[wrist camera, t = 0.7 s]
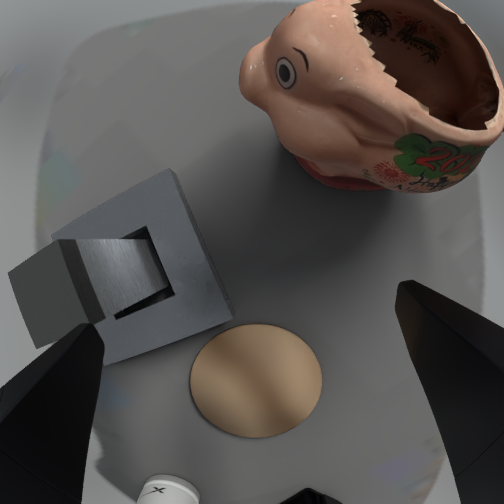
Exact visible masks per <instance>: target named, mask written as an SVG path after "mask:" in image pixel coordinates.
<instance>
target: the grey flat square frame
mask: <svg viewBox="0 0 504 504" xmlns="http://www.w3.org/2000/svg"><path fill="white" fill-rule="evenodd" d="M146 230H148V231H149V233H150V236H151V238H152V241H153V243H154V246H155V248H156V251H157V253H158V255H159V258H160V260H161V263H162V265H163V267H164V270H165V272H166V274H167V277H168V279H169V281H170V284H171V286H172V288H173V290H174V293H175V294H174V295H171V296H169V297H166V298H164V299H162V300H159V301H157V302H155V303H152V304H150V305H148V306H145V307H143V308H140V309H138V310H136V311H133V312H131V313H128V314H125V312H124V310H121V311H119V312H117V313H115V314H114V315H112V316H110V317H108V318H106V319H104V320H102V321H100V322H98V323H96V324H95V325H94V326H95V328H96V329H97V331H98V333H99V335H100V336H101V338H102V340H103V342H104V345H105V352H104V358H103V364H104V366H106V365H109V364H112V363H115V362H118V361H121V360H124V359H127V358H130V357H133V356H136V355H139V354H141V353H144V352H147V351H150V350H153V349H156V348H158V347H161V346H164V345H167V344H169V343H172V342H175V341H177V340H180V339H183V338H185V337H188V336H191V335H193V334H196V333H199V332H201V331H204V330H206V329H209V328H211V327H214V326H217V325H219V324H222V323H224V322H227V321H229V320H232V319H233V317H234V314H235V312H234V309H233V307H232V305H231V303H230V301H229V298H228V296H227V294H226V292H225V289H224V287H223V285H222V283H221V280H220V278H219V276H218V274H217V271H216V269H215V267H214V264H213V262H212V260H211V258H210V255H209V253H208V251H207V248H206V246H205V244H204V241H203V239H202V236H201V234H200V232H199V229H198V227H197V225H196V222H195V220H194V217H193V215H192V213H191V210H190V208H189V205H188V203H187V200H186V198H185V195H184V193H183V191H182V188H181V186H180V183H179V181H178V178H177V176H176V174H175V173H174V172H173V171H172V170H171V169H166V170H164V171H162V172H160V173H158V174H156V175H154V176H152V177H151V178H149V179H147V180H145V181H143V182H141V183H139V184H137V185H135V186H133V187H131V188H130V189H128V190H126V191H124V192H122V193H120V194H119V195H117V196H115V197H113V198H111V199H110V200H108V201H106V202H104V203H103V204H101V205H99V206H97V207H96V208H94V209H92V210H91V211H89V212H87V213H86V214H84V215H82V216H81V217H79V218H77V219H76V220H74V221H72V222H71V223H69V224H68V225H66V226H64V227H63V228H61V229H60V230H58V231H57V232H55V233H54V234H52V235H51V237H52V240H53V242H54V241H56V240H57V239H130V238H132V237H134V236H136V235H138V234H140V233H142V232H144V231H146Z"/></svg>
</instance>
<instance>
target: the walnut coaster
mask: <svg viewBox="0 0 504 504" xmlns="http://www.w3.org/2000/svg"><path fill="white" fill-rule="evenodd" d="M190 383H191V391H192V396H193V398H194V401H195V403H196V405H197V407H198V409H199V410H200V411H201V413H202V414H203V415H204V416H205V417H206V418H207V419H208V420H209V421H210V422H211V423H212V424H214V425H215V426H217V427H218V428H220V429H222V430H224V431H226V432H228V433H231V434H234V435H238V436H242V437H249V438H262V437H270V436H275V435H278V434H281V433H284V432H286V431H288V430H290V429H292V428H294V427H296V426H297V425H298V424H300V423H301V422H302V421H303V420H304V419H306V418H307V417H308V415H309V414H310V413H311V412H312V411H313V409H314V407H315V406H316V404H317V402H318V399H319V397H320V393H321V389H322V373H321V368H320V365H319V363H318V360H317V358H316V356H315V355H314V353H313V351H312V350H311V348H310V347H309V346H308V345H307V344H306V343H305V342H304V341H303V340H302V339H301V338H299V337H298V336H297V335H295V334H294V333H292V332H290V331H288V330H286V329H283V328H281V327H277V326H274V325H268V324H244V325H240V326H235V327H232V328H230V329H227V330H225V331H223V332H221V333H219V334H218V335H216V336H215V337H213V338H212V339H211V340H210V341H209V342H208V343H206V345H205V346H204V347H203V348H202V349H201V351H200V353H199V354H198V356H197V358H196V360H195V362H194V365H193V368H192V371H191V379H190Z"/></svg>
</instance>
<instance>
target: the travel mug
mask: <svg viewBox="0 0 504 504" xmlns="http://www.w3.org/2000/svg"><path fill="white" fill-rule="evenodd" d="M199 501H200V494H199V492H198V490H197V489H196V488H195V487H194V486H193V485H192V484H191V483H189V482H187V481H186V480H183V479H181V478H179V477H176V476H172V475H165V474H160V475H154V476H151V477H150V478H148V479H147V481H146V483H145V485H144V487H143V490H142V492H141V494H140V496H139V498H138V500H137V503H136V504H199Z"/></svg>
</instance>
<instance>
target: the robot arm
mask: <svg viewBox="0 0 504 504" xmlns="http://www.w3.org/2000/svg"><path fill="white" fill-rule="evenodd" d="M395 311H396V315H397V318H398V321H399V324H400V327H401V330H402V333H403V336H404V339H405V342H406V345H407V349H408V352H409V355H410V357H411V360H412V362H413V365H414V367H415V369H416V372H417V374H418V377H419V379H420V381H421V384H422V386H423V389H424V391H425V394H426V396H427V399H428V401H429V404H430V407H431V409H432V412H433V415H434V417H435V420H436V423H437V426H438V428H439V431H440V434H441V437H442V440H443V443H444V446H445V449H446V452H447V455H448V458H449V461H450V465H451V468H452V471H453V475H454V477H455V482H456V486H457V490H458V493H459V497H460V501H461V504H504V328H503V327H501V326H499V325H497V324H495V323H494V322H492V321H490V320H488V319H487V318H485V317H483V316H481V315H479V314H477V313H476V312H474V311H472V310H470V309H468V308H466V307H464V306H463V305H461V304H459V303H457V302H455V301H453V300H451V299H449V298H447V297H446V296H444V295H442V294H440V293H438V292H436V291H434V290H432V289H430V288H428V287H426V286H424V285H422V284H420V283H418V282H416V281H414V280H407V281H402V282H400V283H399V284H398V288H397V295H396V302H395ZM104 352H105V345H104V342H103V340H102V338H101V336H100V335H99V333H98V331H97V329H96V328H95V326H94V325H93V324H92V323H81V324H79V325H78V326H76V327H75V328H74V329H73V330H71V331H70V332H69V333H67V334H66V335H65V336H64V337H62V338H61V339H60V340H58V341H57V342H56V343H55V344H53V345H52V346H51V347H50V348H48V349H47V350H46V351H45V352H43V353H42V354H41V355H40V356H38V357H37V358H36V359H35V360H34V361H32V362H31V363H30V364H29V365H27V366H26V367H25V368H24V369H23V370H21V371H20V372H19V373H18V374H17V375H15V376H14V377H13V378H12V379H11V380H9V381H8V382H7V383H6V384H5V385H4V386H2V387H1V388H0V504H81V502H82V492H83V483H84V474H85V467H86V459H87V453H88V446H89V439H90V434H91V429H92V423H93V418H94V413H95V408H96V403H97V398H98V393H99V388H100V380H101V373H102V365H103V358H104ZM281 504H342V503H341V502H339V501H338V500H335V499H333V498H331V497H329V496H327V495H324V494H321V493H319V492H317V491H315V490H313V489H311V488H306V489H304V490H303V491H301V492H299V493H298V494H296V495H295V496H293V497H291V498H290V499H288V500H286V501H285V502H283V503H281Z"/></svg>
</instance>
